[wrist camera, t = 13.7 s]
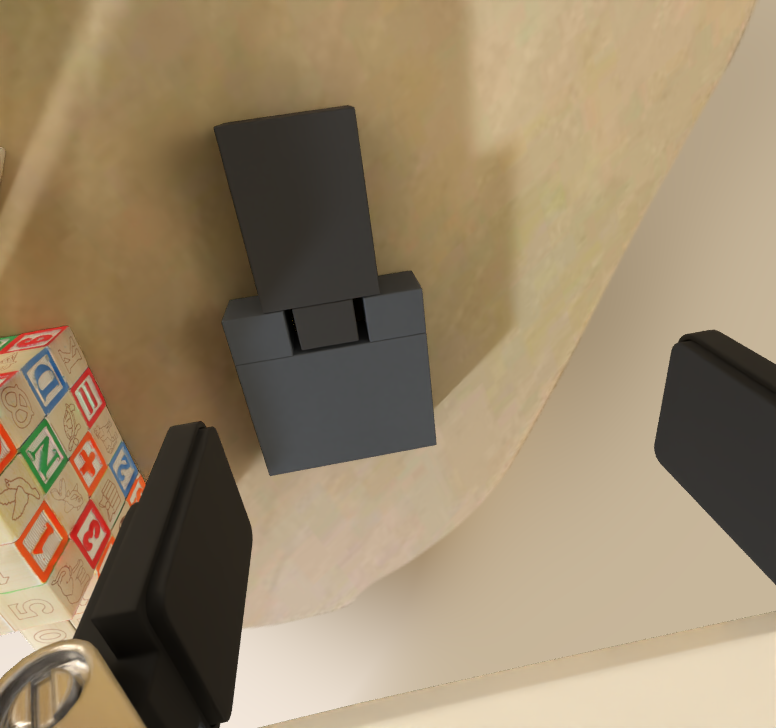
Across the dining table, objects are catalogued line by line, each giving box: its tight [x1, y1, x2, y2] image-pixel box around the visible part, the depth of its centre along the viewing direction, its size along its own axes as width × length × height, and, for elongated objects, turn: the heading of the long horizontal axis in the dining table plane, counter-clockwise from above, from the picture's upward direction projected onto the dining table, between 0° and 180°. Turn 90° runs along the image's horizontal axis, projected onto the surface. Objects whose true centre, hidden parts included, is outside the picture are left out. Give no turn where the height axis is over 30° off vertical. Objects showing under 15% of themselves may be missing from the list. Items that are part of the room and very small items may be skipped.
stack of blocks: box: [0, 326, 146, 651], centre depth 31 cm, size 21×6×12 cm, turn 8°
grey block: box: [222, 271, 436, 476], centre depth 34 cm, size 12×12×4 cm
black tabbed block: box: [214, 105, 380, 350], centre depth 29 cm, size 13×7×4 cm, turn 7°
